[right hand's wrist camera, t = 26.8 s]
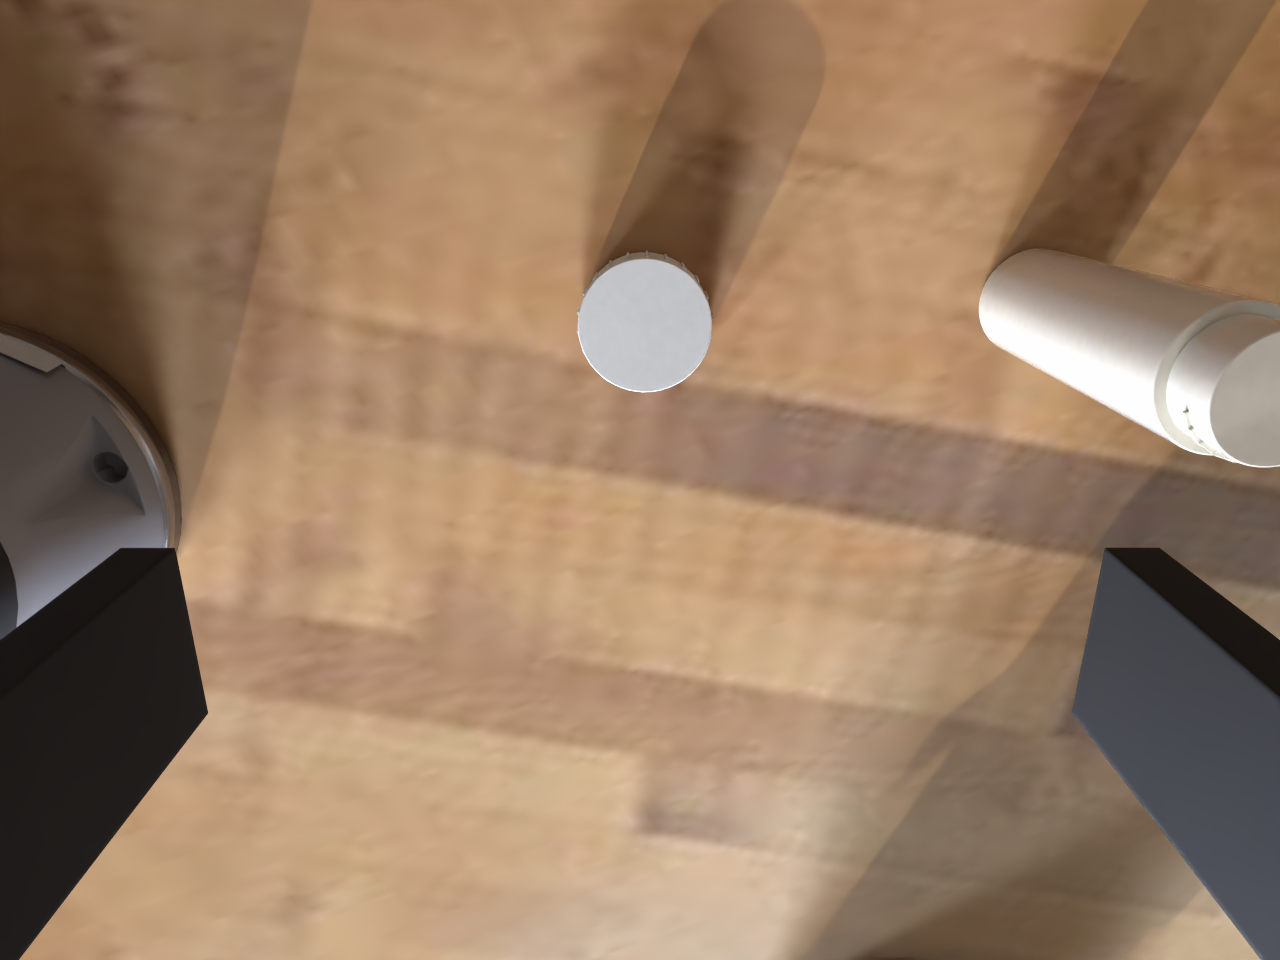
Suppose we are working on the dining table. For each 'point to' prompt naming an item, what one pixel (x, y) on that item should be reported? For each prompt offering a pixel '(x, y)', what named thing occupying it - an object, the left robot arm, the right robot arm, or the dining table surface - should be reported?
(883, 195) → the dining table surface
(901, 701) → the dining table surface
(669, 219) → the dining table surface
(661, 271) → the lid
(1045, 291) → the jar
